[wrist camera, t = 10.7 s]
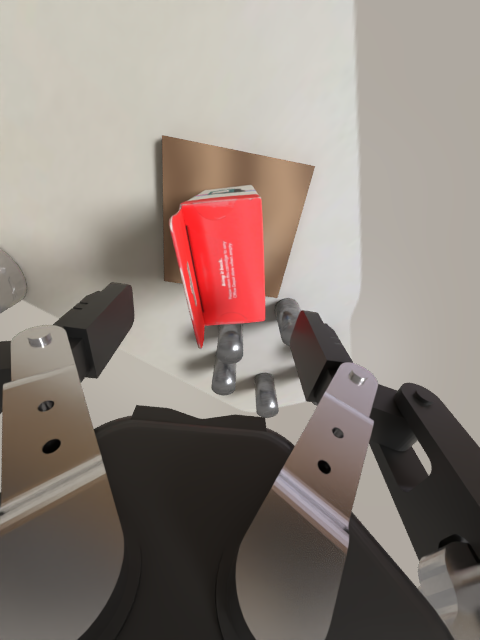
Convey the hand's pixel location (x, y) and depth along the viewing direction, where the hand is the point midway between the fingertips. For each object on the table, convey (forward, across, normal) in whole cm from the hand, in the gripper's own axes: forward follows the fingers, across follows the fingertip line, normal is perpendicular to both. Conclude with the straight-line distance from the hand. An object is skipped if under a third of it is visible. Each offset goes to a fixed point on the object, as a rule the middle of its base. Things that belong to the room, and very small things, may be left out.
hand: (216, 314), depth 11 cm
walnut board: (+18, 0, 0) cm, 18 cm away
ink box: (+17, 0, 0) cm, 17 cm away
